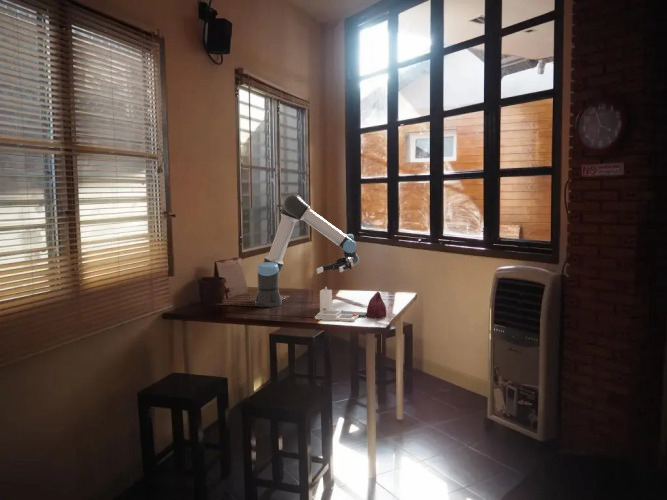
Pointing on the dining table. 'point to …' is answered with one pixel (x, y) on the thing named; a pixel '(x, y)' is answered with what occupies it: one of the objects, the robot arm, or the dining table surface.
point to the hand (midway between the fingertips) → (328, 270)
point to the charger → (325, 299)
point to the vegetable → (376, 307)
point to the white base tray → (336, 316)
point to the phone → (361, 314)
